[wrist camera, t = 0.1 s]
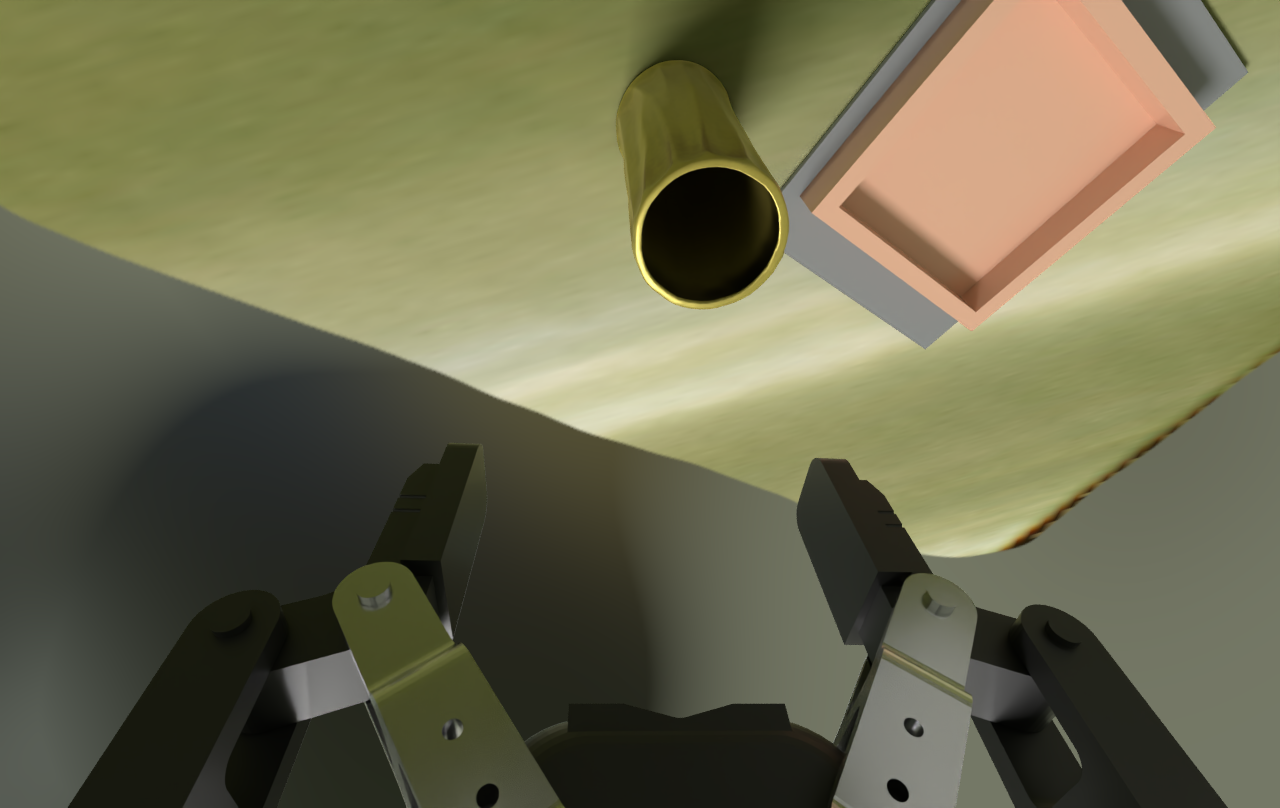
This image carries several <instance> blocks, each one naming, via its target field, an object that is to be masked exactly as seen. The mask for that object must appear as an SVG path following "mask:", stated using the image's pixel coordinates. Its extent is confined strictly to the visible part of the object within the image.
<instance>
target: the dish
mask: <svg viewBox="0 0 1280 808" xmlns="http://www.w3.org/2000/svg"><path fill="white" fill-rule="evenodd" d="M1215 128H1216V127H1215V125H1214V124H1213V123H1212V121H1211V120H1210V119H1209V117H1208V116H1207V115H1206V113H1205V112H1204V111H1203V109H1202V108H1201V107H1200V105H1199V104H1198V103H1197V101H1196V100H1195V99H1194V97H1193V96H1192V94H1191V93H1190V92H1189V90H1188V89H1187V88H1186V86H1185V85H1184V84H1183V82H1182V81H1181V80H1180V78H1179V77H1178V76H1177V74H1176V73H1175V72H1174V70H1173V69H1172V68H1171V66H1170V65H1169V64H1168V62H1167V61H1166V60H1165V58H1164V57H1163V55H1162V54H1161V53H1160V51H1159V50H1158V49H1157V47H1156V46H1155V45H1154V43H1153V42H1152V41H1151V39H1150V38H1149V37H1148V35H1147V34H1146V33H1145V31H1144V30H1143V29H1142V27H1141V26H1140V25H1139V23H1138V22H1137V21H1136V19H1135V18H1134V16H1133V15H1132V14H1131V12H1130V11H1129V10H1128V8H1127V7H1126V6H1125V4H1124V3H1123V2H1122V0H961V1H960V3H959V4H958V5H957V6H956V7H955V9H954V10H953V11H952V12H951V13H950V15H949V16H948V17H947V18H946V19H945V21H944V22H943V23H942V24H941V26H940V27H939V28H938V29H937V30H936V32H935V33H934V34H933V35H932V36H931V38H930V39H929V40H928V41H927V42H926V44H925V45H924V46H923V47H922V49H921V50H920V51H919V52H918V53H917V55H916V56H915V57H914V58H913V59H912V61H911V62H910V63H909V64H908V65H907V67H906V68H905V69H904V70H903V71H902V73H901V74H900V75H899V76H898V78H897V79H896V80H895V81H894V82H893V84H892V85H891V86H890V87H889V88H888V90H887V91H886V92H885V93H884V94H883V96H882V97H881V98H880V99H879V101H878V102H877V103H876V104H875V105H874V107H873V108H872V109H871V110H870V111H869V113H868V114H867V115H866V116H865V117H864V119H863V120H862V121H861V122H860V124H859V125H858V126H857V127H856V128H855V130H854V131H853V132H852V133H851V134H850V136H849V137H848V138H847V139H846V140H845V142H844V143H843V144H842V145H841V147H840V148H839V149H838V150H837V151H836V153H835V154H834V155H833V156H832V157H831V159H830V160H829V161H828V162H827V163H826V165H825V166H824V167H823V168H822V170H821V171H820V172H819V173H818V174H817V176H816V177H815V178H814V179H813V180H812V182H811V183H810V184H809V185H808V186H807V188H806V189H805V190H804V191H803V192H802V194H801V195H800V197H801V199H802V200H803V202H804V203H805V204H806V206H807V207H808V208H809V210H810V211H811V213H812V214H814V215H815V216H816V217H818V218H819V219H821V220H822V221H823V222H825V223H826V224H827V225H829V226H830V227H831V228H833V229H834V230H835V231H837V232H838V233H839V234H841V235H842V236H844V237H845V238H846V239H848V240H849V241H850V242H852V243H853V244H854V245H856V246H857V247H858V248H860V249H861V250H862V251H864V252H865V253H866V254H868V255H869V256H871V257H872V258H873V259H875V260H876V261H877V262H879V263H880V264H881V265H883V266H884V267H885V268H887V269H888V270H889V271H891V272H892V273H893V274H895V275H896V276H898V277H899V278H900V279H902V280H903V281H904V282H906V283H907V284H908V285H910V286H911V287H912V288H914V289H915V290H916V291H918V292H919V293H920V294H922V295H923V296H925V297H926V298H927V299H929V300H930V301H931V302H933V303H934V304H935V305H937V306H938V307H939V308H941V309H942V310H943V311H945V312H946V313H947V314H949V315H950V316H952V317H953V318H954V319H956V320H957V321H958V322H960V323H961V324H962V325H964V326H965V327H966V328H968V329H969V330H970V331H973V330H974V329H975V328H976V327H977V326H979V325H980V324H981V323H982V322H983V321H985V320H986V319H987V318H988V317H989V316H991V315H992V314H993V313H994V312H995V311H997V310H998V309H999V308H1000V307H1001V306H1003V305H1004V304H1005V303H1006V302H1007V301H1009V300H1010V299H1011V298H1012V297H1013V296H1015V295H1016V294H1017V293H1018V292H1019V291H1021V290H1022V289H1023V288H1024V287H1025V286H1027V285H1028V284H1029V283H1030V282H1031V281H1033V280H1034V279H1035V278H1036V277H1037V276H1039V275H1040V274H1041V273H1042V272H1043V271H1045V270H1046V269H1047V268H1048V267H1049V266H1051V265H1052V264H1053V263H1054V262H1055V261H1057V260H1058V259H1059V258H1060V257H1061V256H1063V255H1064V254H1065V253H1066V252H1067V251H1069V250H1070V249H1071V248H1072V247H1073V246H1075V245H1076V244H1077V243H1078V242H1079V241H1081V240H1082V239H1083V238H1084V237H1085V236H1087V235H1088V234H1089V233H1090V232H1091V231H1093V230H1094V229H1095V228H1096V227H1097V226H1099V225H1100V224H1101V223H1102V222H1103V221H1105V220H1106V219H1107V218H1108V217H1109V216H1111V215H1112V214H1113V213H1114V212H1115V211H1117V210H1118V209H1119V208H1120V207H1121V206H1123V205H1124V204H1125V203H1126V202H1127V201H1129V200H1130V199H1131V198H1132V197H1133V196H1135V195H1136V194H1137V193H1138V192H1139V191H1141V190H1142V189H1143V188H1144V187H1145V186H1147V185H1148V184H1149V183H1150V182H1151V181H1153V180H1154V179H1155V178H1156V177H1157V176H1159V175H1160V174H1161V173H1162V172H1163V171H1165V170H1166V169H1167V168H1168V167H1169V166H1171V165H1172V164H1173V163H1174V162H1175V161H1177V160H1178V159H1179V158H1180V157H1181V156H1183V155H1184V154H1185V153H1186V152H1187V151H1189V150H1190V149H1191V148H1192V147H1193V146H1195V145H1196V144H1197V143H1198V142H1199V141H1201V140H1202V139H1203V138H1204V137H1205V136H1207V135H1208V134H1209V133H1210V132H1211V131H1213V130H1214V129H1215Z"/></svg>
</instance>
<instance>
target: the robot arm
mask: <svg viewBox="0 0 1280 808" xmlns="http://www.w3.org/2000/svg"><path fill="white" fill-rule="evenodd" d="M486 508H487V487H486V475H485V464H484V451H483V446H482V444H467V443H449V444H448V445H447V447H446V449H445V452H444V454H443V457H442V459H441V462H440V464H423V465H422V466H421V467H420V468H418V469H417V470H416V471H415V472H414V473H413V474H412V475H411V476H409V477H408V478H407V480H406V483H405V485H404V487H403V489H402V491H401V493H400V498H398V499H397V502H396V504H395V506H394V508H393V512H391V514H390V516H389V518H388V521H387V523H386V525H385V527H384V529H383V531H382V533H381V536H380V537H379V540H378V542H377V544H376V546H375V548H374V550H373V552H372V555H371V557H370V559H369V561H368V563H367V564H366V566H364V567H361V568H359V569H357V570H355V571H354V572H353V573H351V574H349V575H348V576H347V577H346V578H345V579H344V580H343V581H342V582H341V583H340V584H339V586H338V587H337V588H336V590H335V591H334V592H332V593H329V594H326V595H323V596H319V597H316V598H311V599H307V600H303V601H299V602H294V603H290V604H286V605H282V606H280V603H279V601H278V600H277V598H276V597H275V596H274V595H272V594H270V593H268V592H265V591H260V590H249V591H242V592H237V593H234V594H231V595H228V596H225V597H223V598H221V599H219V600H217V601H215V602H213V603H212V604H210V605H209V606H207V607H206V608H205V609H203V610H202V611H201V612H199V613H198V614H197V615H196V616H195V617H194V618H193V619H192V621H191V622H190V623H189V625H188V626H187V628H186V629H185V631H184V632H183V634H182V635H181V637H180V638H179V640H178V641H177V643H176V644H175V646H174V647H173V649H172V650H171V652H170V653H169V655H168V656H167V658H166V659H165V661H164V662H163V664H162V665H161V667H160V668H159V670H158V671H157V673H156V674H155V676H154V677H153V679H152V681H151V682H150V684H149V685H148V687H147V688H146V690H145V691H144V693H143V694H142V696H141V697H140V699H139V700H138V702H137V703H136V705H135V706H134V708H133V709H132V711H131V712H130V714H129V716H128V717H127V718H126V720H125V721H124V723H123V725H122V726H121V727H120V729H119V731H118V732H117V734H116V735H115V737H114V738H113V740H112V741H111V743H110V744H109V746H108V747H107V749H106V750H105V752H104V753H103V755H102V756H101V758H100V759H99V761H98V762H97V764H96V765H95V767H94V769H93V770H92V771H91V773H90V775H89V776H88V778H87V779H86V780H85V782H84V784H83V785H82V787H81V788H80V790H79V791H78V793H77V794H76V796H75V797H74V799H73V800H72V802H71V803H70V805H69V806H68V808H277V806H278V804H279V801H280V799H281V796H282V793H283V791H284V788H285V786H286V783H287V780H288V778H289V775H290V773H291V770H292V767H293V764H294V762H295V760H296V757H297V754H298V751H299V749H300V747H301V744H302V741H303V738H304V736H305V734H306V731H307V728H308V726H309V723H310V721H311V718H312V717H316V716H319V715H322V714H325V713H328V712H332V711H335V710H338V709H342V708H345V707H348V706H351V705H354V704H358V703H361V702H364V703H365V705H366V708H367V710H368V713H369V715H370V717H371V720H372V722H373V724H374V727H375V729H376V732H377V734H378V736H379V739H380V741H381V744H382V746H383V748H384V751H385V753H386V756H387V758H388V760H389V763H390V765H391V767H392V770H393V772H394V775H395V777H396V780H397V782H398V785H399V787H400V790H401V793H402V795H403V798H404V801H405V804H406V806H407V808H956V801H957V795H958V789H959V783H960V777H961V771H962V765H963V759H964V753H965V747H966V741H967V735H968V729H969V723H970V717H971V718H972V720H973V722H974V724H975V726H976V728H977V730H978V732H979V734H980V736H981V738H982V740H983V742H984V744H985V747H986V748H987V750H988V753H989V755H990V757H991V759H992V761H993V763H994V765H995V767H996V769H997V771H998V773H999V775H1000V777H1001V779H1002V781H1003V784H1004V786H1005V788H1006V789H1007V791H1008V794H1009V796H1010V798H1011V800H1012V802H1013V804H1014V806H1015V808H1228V807H1227V806H1226V805H1225V804H1224V802H1223V801H1222V800H1221V798H1220V797H1219V796H1218V794H1217V793H1216V792H1215V790H1214V789H1213V788H1212V787H1211V785H1210V784H1209V783H1208V781H1207V780H1206V779H1205V777H1204V776H1203V775H1202V774H1201V772H1200V771H1199V770H1198V769H1197V767H1196V766H1195V765H1194V763H1193V762H1192V761H1191V759H1190V758H1189V757H1188V755H1187V754H1186V753H1185V752H1184V750H1183V749H1182V748H1181V746H1180V745H1179V744H1178V743H1177V741H1176V740H1175V739H1174V737H1173V736H1172V735H1171V733H1170V732H1169V731H1168V730H1167V728H1166V727H1165V726H1164V724H1163V723H1162V722H1161V720H1160V719H1159V718H1158V717H1157V715H1156V714H1155V713H1154V711H1153V710H1152V709H1151V707H1150V706H1149V705H1148V703H1147V702H1146V701H1145V700H1144V698H1143V697H1142V696H1141V694H1140V693H1139V692H1138V691H1137V690H1136V688H1135V687H1134V685H1133V684H1132V683H1131V682H1130V680H1129V679H1128V678H1127V676H1126V675H1125V674H1124V672H1123V671H1122V670H1121V668H1120V667H1119V666H1118V665H1117V663H1116V662H1115V661H1114V659H1113V658H1112V657H1111V655H1110V654H1109V653H1108V652H1107V650H1106V649H1105V648H1104V646H1103V645H1102V644H1101V643H1100V641H1099V640H1098V639H1097V637H1096V636H1095V635H1094V634H1093V633H1092V632H1091V631H1090V630H1089V629H1088V628H1087V627H1086V626H1085V625H1084V624H1082V623H1081V622H1080V621H1079V620H1077V619H1076V618H1074V617H1073V616H1071V615H1069V614H1067V613H1065V612H1063V611H1061V610H1059V609H1056V608H1053V607H1050V606H1046V605H1030V606H1028V607H1026V608H1025V609H1024V610H1023V611H1022V612H1021V614H1020V615H1019V617H1018V618H1017V619H1016V618H1012V617H1009V616H1005V615H1002V614H998V613H994V612H991V611H987V610H984V609H980V608H977V607H975V605H974V603H973V602H972V600H971V599H970V597H969V596H968V595H967V594H966V593H965V592H964V591H963V590H962V589H961V588H959V587H958V586H957V585H955V584H954V583H952V582H950V581H949V580H946V579H944V578H942V577H940V576H937V575H933V573H932V572H931V570H930V569H929V567H928V565H927V564H926V562H925V561H924V559H923V557H922V556H921V554H920V552H919V551H918V549H917V548H916V546H915V544H914V543H913V541H912V540H911V538H910V536H909V535H908V533H907V531H906V530H905V528H902V523H901V522H900V520H899V519H898V517H897V515H896V514H894V511H893V509H892V507H891V506H890V504H889V502H888V501H887V499H886V498H885V496H884V495H883V494H882V493H881V492H880V491H879V490H878V489H876V488H875V487H874V486H873V485H872V484H871V483H869V482H868V481H867V480H859V479H858V477H857V475H856V473H855V472H854V470H853V468H852V467H851V465H850V463H849V462H848V461H847V460H846V459H828V458H815V459H813V460H812V462H811V464H810V467H809V470H808V473H807V476H806V479H805V483H804V486H803V489H802V492H801V495H800V498H799V502H798V505H797V524H798V529H799V531H800V534H801V536H802V539H803V542H804V544H805V547H806V549H807V552H808V554H809V556H810V559H811V562H812V564H813V567H814V569H815V572H816V574H817V577H818V579H819V582H820V584H821V587H822V589H823V592H824V594H825V597H826V599H827V602H828V604H829V607H830V610H831V612H832V614H833V617H834V619H835V622H836V624H837V627H838V630H839V632H840V635H841V637H842V640H843V642H844V644H845V645H864V646H865V648H866V651H867V653H868V655H867V657H866V659H865V661H864V663H863V666H862V668H861V672H860V674H859V677H858V679H857V682H856V685H855V687H854V690H853V693H852V696H851V698H850V701H849V704H848V706H847V709H846V712H845V714H844V717H843V720H842V723H841V725H840V728H839V730H838V733H837V735H836V737H835V740H834V742H833V743H831V742H830V741H828V740H827V739H825V738H824V737H822V736H821V735H819V734H817V733H815V732H813V731H811V730H809V729H807V728H805V727H802V726H800V725H797V724H794V723H790V722H789V718H788V714H787V711H786V707H785V704H731V705H727V706H724V707H720V708H717V709H713V710H710V711H706V712H703V713H699V714H696V715H692V716H689V717H685V718H675V717H671V716H667V715H664V714H660V713H656V712H652V711H648V710H645V709H641V708H637V707H633V706H629V705H626V704H569V714H568V715H569V716H568V721H567V722H563V723H560V724H557V725H554V726H552V727H549V728H547V729H545V730H542V731H541V732H539V733H537V734H536V735H534V736H532V737H530V738H529V739H528V740H526V741H525V742H524V741H523V739H522V738H521V736H520V734H519V733H518V731H517V730H516V728H515V726H514V725H513V723H512V721H511V720H510V718H509V716H508V715H507V713H506V712H505V710H504V708H503V707H502V705H501V703H500V702H499V700H498V699H497V697H496V695H495V694H494V692H493V690H492V689H491V687H490V685H489V684H488V682H487V681H486V679H485V677H484V676H483V674H482V672H481V671H480V669H479V667H478V666H477V664H476V663H475V661H474V659H473V658H472V656H471V654H470V653H469V651H468V650H467V648H466V647H465V646H464V645H463V644H462V643H458V644H455V643H454V642H453V641H452V639H453V637H454V633H455V629H456V625H457V622H458V618H459V614H460V611H461V607H462V603H463V599H464V596H465V592H466V588H467V584H468V581H469V577H470V573H471V569H472V566H473V562H474V558H475V554H476V550H477V547H478V543H479V539H480V536H481V531H482V528H483V524H484V520H485V515H486ZM1055 716H1056V717H1057V719H1058V721H1059V722H1060V724H1061V725H1062V727H1063V729H1064V730H1065V732H1066V734H1067V735H1068V737H1069V739H1070V740H1071V742H1072V743H1073V745H1074V747H1075V748H1076V750H1077V752H1078V754H1079V757H1080V760H1081V764H1082V768H1081V767H1080V765H1079V763H1078V762H1077V760H1076V758H1075V757H1074V755H1073V753H1072V752H1071V750H1070V749H1069V747H1068V745H1067V744H1066V742H1065V741H1064V739H1063V737H1062V735H1061V734H1060V732H1059V730H1058V729H1057V727H1056V726H1055V724H1054V722H1053V721H1052V719H1053V718H1054V717H1055Z"/></svg>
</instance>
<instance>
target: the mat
mask: <svg viewBox="0 0 1280 808" xmlns="http://www.w3.org/2000/svg"><path fill="white" fill-rule="evenodd" d="M960 1H961V0H931V2H930V3H929V4H928V5H927V7H926V8H925V9H924V10H923V12H922V13H921V14H920V15H919V17H918V18H917V19H916V20H915V22H914V23H913V24H912V25H911V27H910V28H909V29H908V30H907V32H906V33H905V34H904V35H903V37H902V38H901V39H900V40H899V42H898V43H897V44H896V45H895V47H894V48H893V49H892V50H891V52H890V53H889V54H888V55H887V57H886V58H885V59H884V60H883V62H882V63H881V64H880V65H879V67H878V68H877V69H876V71H875V72H874V73H873V74H872V76H871V77H870V78H869V79H868V81H867V82H866V83H865V84H864V86H863V87H862V88H861V89H860V91H859V92H858V93H857V94H856V96H855V97H854V98H853V99H852V101H851V102H850V103H849V104H848V106H847V107H846V108H845V109H844V111H843V112H842V113H841V114H840V116H839V117H838V118H837V119H836V121H835V122H834V123H833V124H832V126H831V127H830V128H829V129H828V131H827V132H826V133H825V134H824V136H823V137H822V138H821V139H820V141H819V142H818V143H817V144H816V146H815V147H814V148H813V149H812V151H811V152H810V153H809V154H808V156H807V157H806V158H805V159H804V161H803V162H802V163H801V164H800V166H799V167H798V168H797V169H796V171H795V172H794V173H793V174H792V176H791V177H790V178H789V179H788V181H787V182H786V183H785V184H784V186H783V187H782V188H781V189H780V190H781V192H782V195H783V197H784V200H785V203H786V207H787V211H788V216H789V234H788V239H787V244H786V247H785V250H784V253H785V254H787V255H788V256H790V257H791V258H793V259H794V260H796V261H797V262H799V263H800V264H802V265H803V266H804V267H806V268H807V269H809V270H810V271H812V272H813V273H815V274H816V275H818V276H819V277H821V278H822V279H823V280H825V281H826V282H828V283H829V284H831V285H832V286H834V287H835V288H837V289H838V290H839V291H841V292H842V293H844V294H845V295H847V296H848V297H850V298H851V299H853V300H854V301H856V302H857V303H858V304H860V305H861V306H863V307H864V308H866V309H867V310H869V311H870V312H872V313H873V314H875V315H876V316H877V317H879V318H880V319H882V320H883V321H885V322H886V323H888V324H889V325H891V326H892V327H894V328H895V329H896V330H898V331H899V332H901V333H902V334H904V335H905V336H907V337H908V338H910V339H911V340H913V341H914V342H915V343H917V344H918V345H920V346H921V347H923V348H924V349H926V348H927V347H928V346H930V345H931V344H932V343H933V342H934V341H935V340H937V339H938V338H939V337H940V336H941V335H942V334H944V333H945V332H946V331H947V330H948V329H949V328H951V327H952V326H953V325H954V324H955V323H956V322H958V321H957V320H956V319H954V318H953V317H952V316H950V315H949V314H947V313H946V312H945V311H943V310H942V309H941V308H939V307H938V306H937V305H935V304H934V303H933V302H931V301H930V300H929V299H927V298H926V297H925V296H923V295H922V294H920V293H919V292H918V291H916V290H915V289H914V288H912V287H911V286H910V285H908V284H907V283H906V282H904V281H903V280H902V279H900V278H899V277H898V276H896V275H895V274H893V273H892V272H891V271H889V270H888V269H887V268H885V267H884V266H883V265H881V264H880V263H879V262H877V261H876V260H875V259H873V258H872V257H871V256H869V255H868V254H866V253H865V252H864V251H862V250H861V249H860V248H858V247H857V246H856V245H854V244H853V243H852V242H850V241H849V240H848V239H846V238H845V237H844V236H842V235H841V234H839V233H838V232H837V231H835V230H834V229H833V228H831V227H830V226H829V225H827V224H826V223H825V222H823V221H822V220H821V219H819V218H818V217H816V216H815V215H814V214H812V213H811V211H810V210H809V208H808V207H807V206H806V204H805V203H804V202H803V200H802V199H801V197H800V195H801V194H802V192H803V191H804V190H805V189H806V188H807V186H808V185H809V184H810V183H811V182H812V180H813V179H814V178H815V177H816V176H817V174H818V173H819V172H820V171H821V170H822V168H823V167H824V166H825V165H826V163H827V162H828V161H829V160H830V159H831V157H832V156H833V155H834V154H835V153H836V151H837V150H838V149H839V148H840V147H841V145H842V144H843V143H844V142H845V140H846V139H847V138H848V137H849V136H850V134H851V133H852V132H853V131H854V130H855V128H856V127H857V126H858V125H859V124H860V122H861V121H862V120H863V119H864V117H865V116H866V115H867V114H868V113H869V111H870V110H871V109H872V108H873V107H874V105H875V104H876V103H877V102H878V101H879V99H880V98H881V97H882V96H883V94H884V93H885V92H886V91H887V90H888V88H889V87H890V86H891V85H892V84H893V82H894V81H895V80H896V79H897V78H898V76H899V75H900V74H901V73H902V71H903V70H904V69H905V68H906V67H907V65H908V64H909V63H910V62H911V61H912V59H913V58H914V57H915V56H916V55H917V53H918V52H919V51H920V50H921V49H922V47H923V46H924V45H925V44H926V42H927V41H928V40H929V39H930V38H931V36H932V35H933V34H934V33H935V32H936V30H937V29H938V28H939V27H940V26H941V24H942V23H943V22H944V21H945V19H946V18H947V17H948V16H949V15H950V13H951V12H952V11H953V10H954V9H955V7H956V6H957V5H958V4H959V3H960ZM1122 2H1123V3H1124V4H1125V6H1126V7H1127V8H1128V10H1129V11H1130V12H1131V14H1132V15H1133V16H1134V18H1135V19H1136V21H1137V22H1138V23H1139V25H1140V26H1141V27H1142V29H1143V30H1144V31H1145V33H1146V34H1147V35H1148V37H1149V38H1150V39H1151V41H1152V42H1153V43H1154V45H1155V46H1156V47H1157V49H1158V50H1159V51H1160V53H1161V54H1162V55H1163V57H1164V58H1165V60H1166V61H1167V62H1168V64H1169V65H1170V66H1171V68H1172V69H1173V70H1174V72H1175V73H1176V74H1177V76H1178V77H1179V78H1180V80H1181V81H1182V82H1183V84H1184V85H1185V86H1186V88H1187V89H1188V90H1189V92H1190V93H1191V94H1192V96H1193V97H1194V99H1195V100H1196V101H1197V103H1198V104H1199V105H1200V107H1201V108H1202V109H1203V111H1204V110H1205V109H1206V108H1207V107H1208V106H1210V105H1211V104H1212V103H1213V102H1214V101H1215V100H1217V99H1218V98H1219V97H1220V96H1221V95H1222V94H1224V93H1225V92H1226V91H1227V90H1228V89H1229V88H1231V87H1232V86H1233V85H1234V84H1235V83H1236V82H1238V81H1239V80H1240V79H1241V78H1242V77H1243V76H1245V75H1246V74H1247V73H1248V71H1247V69H1246V68H1245V66H1244V65H1243V63H1242V62H1241V60H1240V59H1239V57H1238V56H1237V54H1236V53H1235V51H1234V50H1233V48H1232V47H1231V45H1230V44H1229V42H1228V41H1227V39H1226V38H1225V36H1224V35H1223V33H1222V32H1221V30H1220V29H1219V27H1218V26H1217V24H1216V23H1215V21H1214V20H1213V18H1212V17H1211V15H1210V14H1209V12H1208V11H1207V9H1206V8H1205V6H1204V4H1203V3H1202V1H1201V0H1122Z"/></svg>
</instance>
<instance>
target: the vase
mask: <svg viewBox="0 0 1280 808" xmlns="http://www.w3.org/2000/svg"><path fill="white" fill-rule="evenodd" d="M616 131H617V142H618V146H619V150H620V152H621V154H622V156H623V159H624V174H625V181H626V188H627V194H628V208H629V220H630V232H631V241H632V249H633V254H634V258H635V260H636V262H637V265H638V267H639V270H640V272H641V274H642V276H643V278H644V280H645V281H646V283H647V284H648V285H649V286H650V287H651V288H652V289H653V290H654V291H656V292H657V293H658V294H660V295H661V296H662V297H664V298H665V299H666V300H668V301H670V302H671V303H673V304H675V305H678V306H682V307H686V308H692V309H712V308H718V307H721V306H725V305H728V304H731V303H734V302H736V301H739V300H741V299H743V298H745V297H746V296H748V295H750V294H751V293H753V292H754V291H755V290H756V289H758V288H759V287H760V286H761V285H762V284H763V283H764V282H765V281H766V280H767V279H768V278H769V277H770V275H771V274H772V273H773V272H774V270H775V269H776V267H777V265H778V264H779V262H780V260H781V258H782V257H783V254H784V250H785V247H786V244H787V239H788V234H789V216H788V211H787V207H786V203H785V200H784V197H783V195H782V192H781V190H780V187H779V185H778V184H777V182H776V181H775V179H774V178H773V177H772V175H771V174H770V172H769V170H768V169H767V167H766V166H765V164H764V163H763V161H762V160H761V158H760V156H759V155H758V154H757V152H756V150H755V149H754V147H753V145H752V143H751V141H750V140H749V138H748V136H747V134H746V132H745V131H744V129H743V128H742V126H741V124H740V122H739V120H738V118H737V116H736V115H735V113H734V111H733V109H732V107H731V104H730V100H729V97H728V94H727V92H726V90H725V88H724V86H723V85H722V83H721V82H720V81H719V80H718V78H717V77H716V76H715V75H714V74H712V73H711V72H710V71H709V70H708V69H706V68H704V67H703V66H701V65H699V64H696V63H693V62H690V61H683V60H670V61H665V62H661V63H658V64H656V65H654V66H652V67H650V68H648V69H647V70H645V71H644V72H642V73H641V74H640V75H639V76H638V77H636V79H635V80H634V81H633V82H632V83H631V84H630V86H629V87H628V89H627V90H626V92H625V94H624V96H623V98H622V100H621V103H620V105H619V108H618V111H617V117H616Z"/></svg>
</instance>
